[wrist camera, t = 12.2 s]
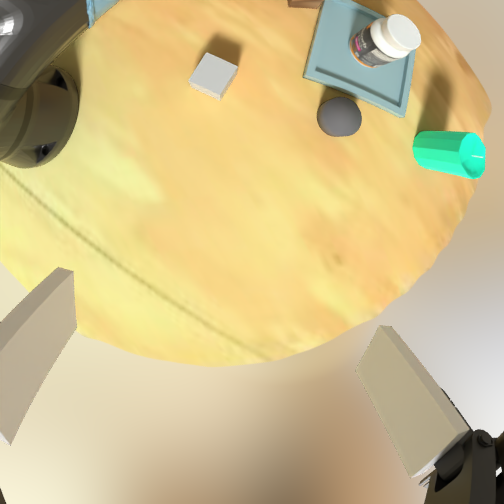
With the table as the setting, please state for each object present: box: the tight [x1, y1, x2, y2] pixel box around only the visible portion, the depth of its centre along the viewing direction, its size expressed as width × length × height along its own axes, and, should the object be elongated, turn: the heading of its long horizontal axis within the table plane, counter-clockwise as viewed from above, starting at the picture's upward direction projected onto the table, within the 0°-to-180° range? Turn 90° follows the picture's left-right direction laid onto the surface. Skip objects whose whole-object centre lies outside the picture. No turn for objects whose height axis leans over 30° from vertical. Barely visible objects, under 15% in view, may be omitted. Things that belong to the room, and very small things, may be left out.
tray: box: [303, 0, 416, 118], centre depth 29 cm, size 15×15×2 cm
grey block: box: [188, 52, 238, 101], centre depth 28 cm, size 4×4×4 cm
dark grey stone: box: [317, 97, 362, 137], centre depth 32 cm, size 5×5×3 cm
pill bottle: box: [349, 14, 421, 68], centre depth 24 cm, size 6×6×10 cm
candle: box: [413, 131, 485, 179], centre depth 30 cm, size 6×6×12 cm
